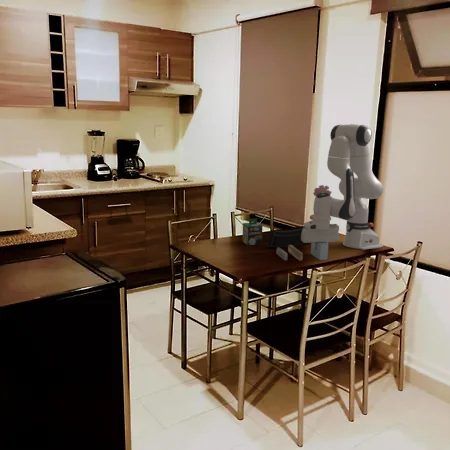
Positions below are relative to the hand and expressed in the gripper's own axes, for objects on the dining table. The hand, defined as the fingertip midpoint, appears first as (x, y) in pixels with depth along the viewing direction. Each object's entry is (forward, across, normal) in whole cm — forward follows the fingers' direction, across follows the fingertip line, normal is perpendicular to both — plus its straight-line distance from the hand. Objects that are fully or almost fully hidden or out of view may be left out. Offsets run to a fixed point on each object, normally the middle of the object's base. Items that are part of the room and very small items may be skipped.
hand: (319, 250), depth 247 cm
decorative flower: (+4, -27, -55) cm, 61 cm away
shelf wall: (+4, +12, -3) cm, 13 cm away
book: (+4, 0, 0) cm, 4 cm away
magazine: (+4, +6, -23) cm, 24 cm away
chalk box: (+4, +27, -32) cm, 42 cm away
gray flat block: (+4, +20, -3) cm, 20 cm away
